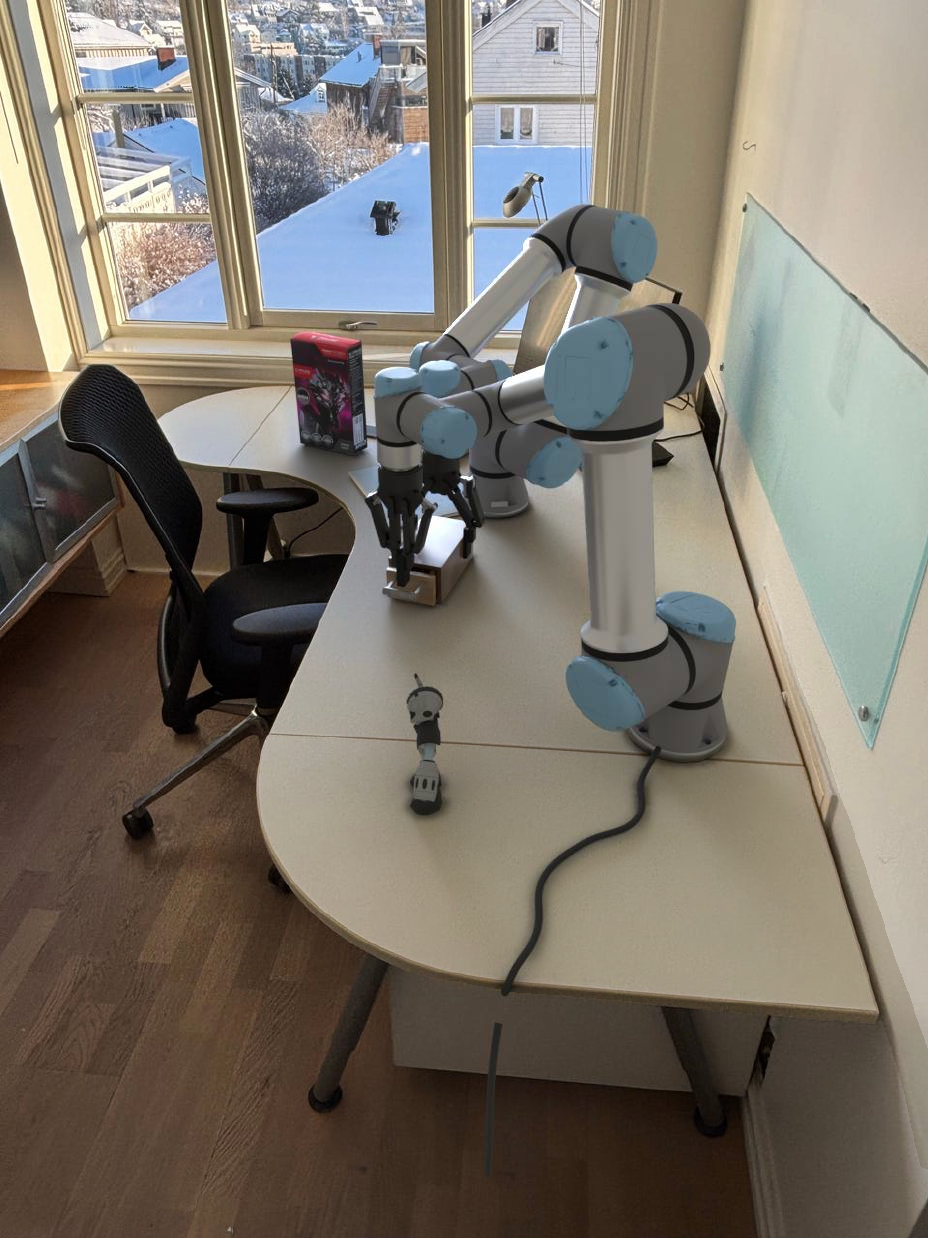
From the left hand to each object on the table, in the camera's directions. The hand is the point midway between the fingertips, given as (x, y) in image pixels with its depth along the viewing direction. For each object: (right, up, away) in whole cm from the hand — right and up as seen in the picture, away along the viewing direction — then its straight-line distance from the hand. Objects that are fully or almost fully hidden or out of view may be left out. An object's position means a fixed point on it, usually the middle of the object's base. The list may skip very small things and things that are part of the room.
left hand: (440, 550), depth 183 cm
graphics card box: (-28, +30, +49) cm, 64 cm away
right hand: (-6, -7, -17) cm, 19 cm away
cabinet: (-1, -5, -2) cm, 5 cm away
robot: (-1, -39, -52) cm, 65 cm away
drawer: (-3, -7, -7) cm, 11 cm away
